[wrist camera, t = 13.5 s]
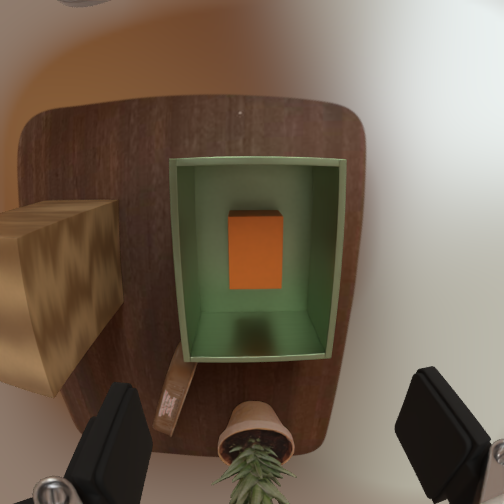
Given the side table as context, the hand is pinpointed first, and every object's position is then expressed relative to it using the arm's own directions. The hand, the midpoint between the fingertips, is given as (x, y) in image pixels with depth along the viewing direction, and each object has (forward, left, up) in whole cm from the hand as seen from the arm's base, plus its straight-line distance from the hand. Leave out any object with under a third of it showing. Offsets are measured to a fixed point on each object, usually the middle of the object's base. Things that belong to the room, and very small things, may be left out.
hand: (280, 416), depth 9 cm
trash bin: (0, 0, -26) cm, 25 cm away
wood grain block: (-7, -18, -25) cm, 32 cm away
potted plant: (+23, -10, -26) cm, 36 cm away
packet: (+1, 0, -25) cm, 25 cm away
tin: (+11, -15, -26) cm, 32 cm away
